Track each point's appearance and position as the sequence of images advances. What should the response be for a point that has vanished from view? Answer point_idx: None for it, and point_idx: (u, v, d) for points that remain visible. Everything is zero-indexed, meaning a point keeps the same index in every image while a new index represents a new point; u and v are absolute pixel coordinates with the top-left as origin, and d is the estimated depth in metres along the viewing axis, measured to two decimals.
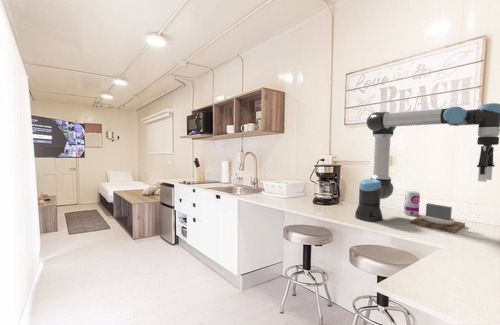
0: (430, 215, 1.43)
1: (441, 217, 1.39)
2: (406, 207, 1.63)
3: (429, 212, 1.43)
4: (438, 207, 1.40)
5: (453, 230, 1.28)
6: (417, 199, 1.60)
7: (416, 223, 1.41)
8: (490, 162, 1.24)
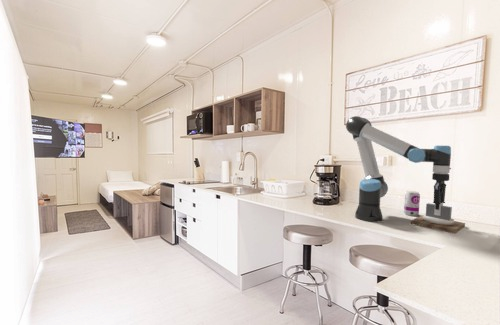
0: (430, 215, 1.43)
1: (441, 217, 1.39)
2: (406, 207, 1.63)
3: (429, 212, 1.43)
4: None
5: (453, 230, 1.28)
6: (417, 199, 1.60)
7: (416, 223, 1.41)
8: (441, 197, 1.41)
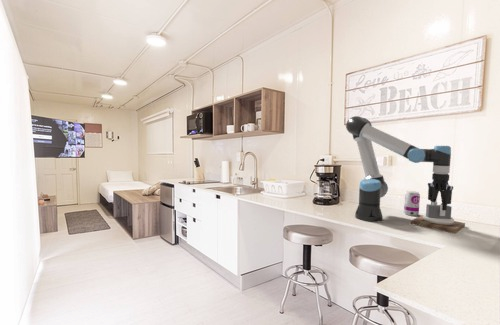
0: (433, 216, 1.40)
1: (443, 217, 1.39)
2: (406, 207, 1.63)
3: (432, 214, 1.40)
4: None
5: (453, 230, 1.28)
6: (417, 199, 1.60)
7: (416, 223, 1.41)
8: (436, 197, 1.43)
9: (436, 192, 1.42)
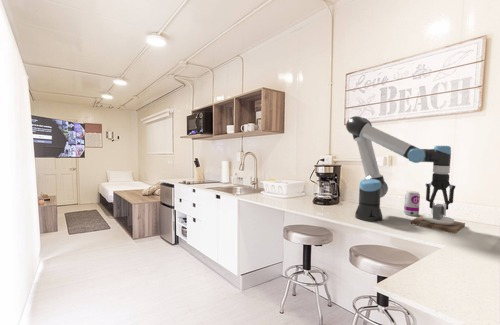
0: (440, 217, 1.38)
1: (442, 216, 1.42)
2: (406, 207, 1.63)
3: (440, 215, 1.38)
4: (442, 207, 1.40)
5: (453, 230, 1.28)
6: (417, 199, 1.60)
7: (416, 223, 1.41)
8: None
9: None
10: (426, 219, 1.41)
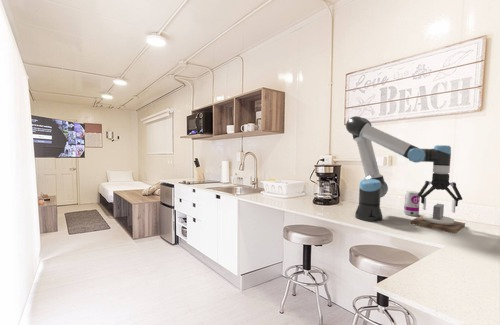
0: (440, 217, 1.38)
1: (442, 216, 1.42)
2: (406, 207, 1.63)
3: (440, 215, 1.38)
4: (442, 207, 1.40)
5: (453, 230, 1.28)
6: (417, 199, 1.60)
7: (416, 223, 1.41)
8: None
9: None
10: (426, 219, 1.41)
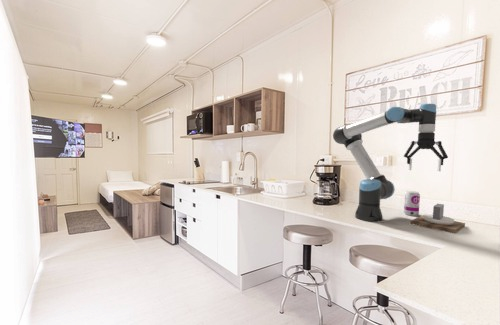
0: (440, 217, 1.38)
1: (442, 216, 1.42)
2: (406, 207, 1.63)
3: (440, 215, 1.38)
4: (442, 207, 1.40)
5: (453, 230, 1.28)
6: (417, 199, 1.60)
7: (416, 223, 1.41)
8: None
9: None
10: (426, 219, 1.41)
